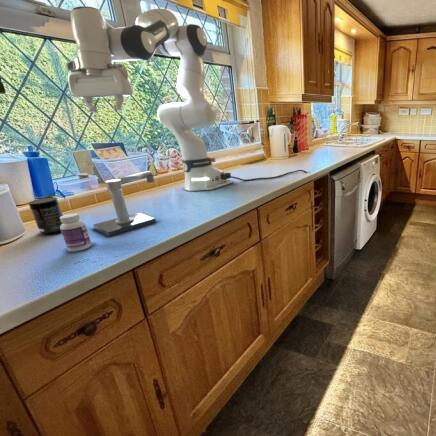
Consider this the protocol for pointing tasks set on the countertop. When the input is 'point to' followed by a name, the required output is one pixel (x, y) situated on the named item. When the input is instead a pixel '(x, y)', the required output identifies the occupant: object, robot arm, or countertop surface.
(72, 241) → the pill bottle
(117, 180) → the spout
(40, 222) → the supplement container
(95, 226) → the tap stand
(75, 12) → the robot arm
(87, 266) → the countertop surface
